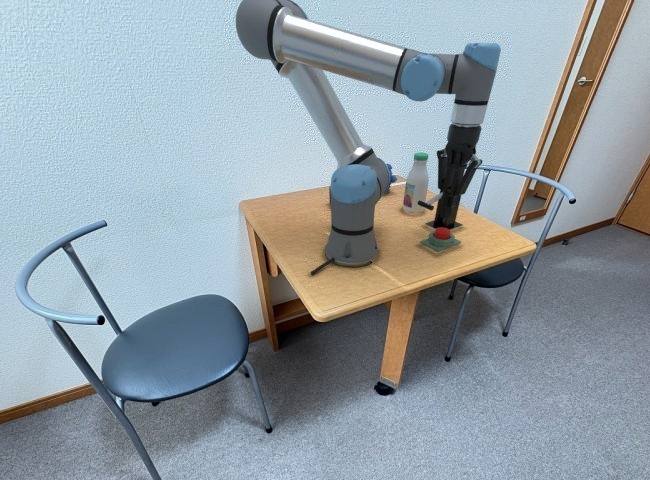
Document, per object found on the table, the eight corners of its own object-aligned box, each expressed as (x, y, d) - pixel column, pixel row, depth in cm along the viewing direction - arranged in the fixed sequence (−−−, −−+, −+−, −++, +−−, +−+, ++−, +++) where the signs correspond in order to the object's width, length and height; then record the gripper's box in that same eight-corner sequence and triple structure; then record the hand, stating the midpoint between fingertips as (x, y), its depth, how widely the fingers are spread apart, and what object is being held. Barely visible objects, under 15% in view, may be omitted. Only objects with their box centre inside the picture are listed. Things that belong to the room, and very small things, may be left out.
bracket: (442, 235, 104) (451, 189, 95) (423, 226, 109) (431, 182, 100) (462, 228, 108) (474, 183, 99) (444, 220, 114) (453, 176, 105)
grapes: (394, 198, 130) (397, 167, 123) (377, 197, 131) (379, 166, 124) (397, 189, 139) (400, 159, 131) (381, 188, 140) (384, 158, 133)
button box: (437, 255, 94) (439, 245, 92) (419, 245, 99) (420, 235, 97) (460, 246, 98) (463, 236, 96) (441, 237, 103) (444, 227, 101)
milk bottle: (422, 208, 122) (431, 151, 110) (424, 216, 116) (435, 157, 104) (401, 207, 123) (408, 150, 111) (402, 215, 117) (410, 156, 105)
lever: (430, 213, 97) (430, 206, 95) (417, 207, 101) (417, 200, 99) (461, 192, 100) (462, 185, 99) (447, 187, 104) (447, 180, 102)
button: (442, 241, 94) (443, 235, 93) (430, 236, 97) (432, 229, 96) (452, 237, 96) (454, 231, 95) (441, 232, 99) (442, 226, 98)
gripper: (499, 127, 76) (472, 221, 90) (455, 118, 84) (437, 206, 99) (478, 130, 72) (454, 228, 87) (434, 121, 81) (419, 211, 95)
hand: (445, 216), depth 93 cm, fingers closed
